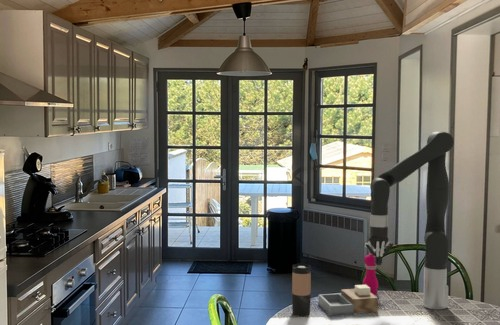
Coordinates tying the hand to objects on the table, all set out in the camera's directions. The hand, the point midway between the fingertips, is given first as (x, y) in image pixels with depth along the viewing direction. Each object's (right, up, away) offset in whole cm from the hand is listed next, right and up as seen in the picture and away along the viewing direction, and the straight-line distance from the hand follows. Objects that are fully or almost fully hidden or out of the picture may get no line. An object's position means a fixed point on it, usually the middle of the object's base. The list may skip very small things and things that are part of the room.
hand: (378, 264), depth 241 cm
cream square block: (-7, -12, -1) cm, 14 cm away
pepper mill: (+1, -17, +19) cm, 25 cm away
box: (-19, -18, -3) cm, 26 cm away
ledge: (-8, -18, -1) cm, 20 cm away
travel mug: (-34, -19, -8) cm, 40 cm away
